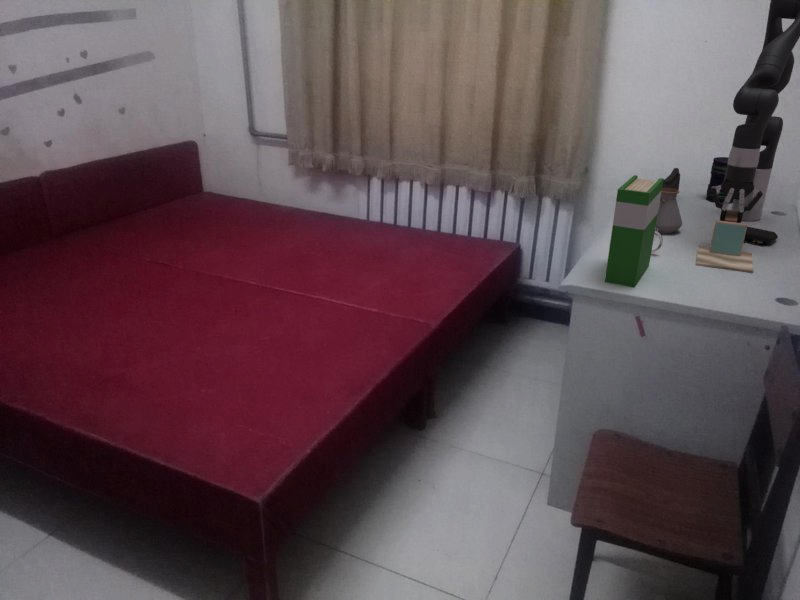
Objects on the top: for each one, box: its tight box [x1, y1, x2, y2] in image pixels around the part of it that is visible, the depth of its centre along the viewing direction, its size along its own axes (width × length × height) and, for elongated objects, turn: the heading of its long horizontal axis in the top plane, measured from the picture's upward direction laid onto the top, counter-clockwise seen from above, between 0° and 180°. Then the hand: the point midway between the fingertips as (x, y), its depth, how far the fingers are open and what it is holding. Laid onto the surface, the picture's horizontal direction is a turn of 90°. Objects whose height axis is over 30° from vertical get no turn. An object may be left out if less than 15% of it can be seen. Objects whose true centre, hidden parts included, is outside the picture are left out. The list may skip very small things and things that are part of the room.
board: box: [695, 245, 755, 274], centre depth 182 cm, size 16×14×1 cm
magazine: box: [657, 167, 681, 192], centre depth 235 cm, size 18×3×31 cm
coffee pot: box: [656, 188, 683, 235], centre depth 200 cm, size 21×12×15 cm, turn 144°
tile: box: [709, 220, 748, 256], centre depth 183 cm, size 2×8×9 cm, turn 65°
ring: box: [651, 227, 664, 254], centre depth 185 cm, size 7×3×8 cm, turn 61°
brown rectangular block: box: [725, 209, 738, 223], centre depth 187 cm, size 10×6×5 cm, turn 155°
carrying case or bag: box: [744, 226, 779, 247], centre depth 199 cm, size 11×3×15 cm
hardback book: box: [604, 174, 665, 289], centre depth 167 cm, size 18×7×24 cm, turn 150°
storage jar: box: [705, 156, 733, 205], centre depth 238 cm, size 10×10×15 cm
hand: (729, 222), depth 189 cm, fingers closed on brown rectangular block, 3 cm apart
